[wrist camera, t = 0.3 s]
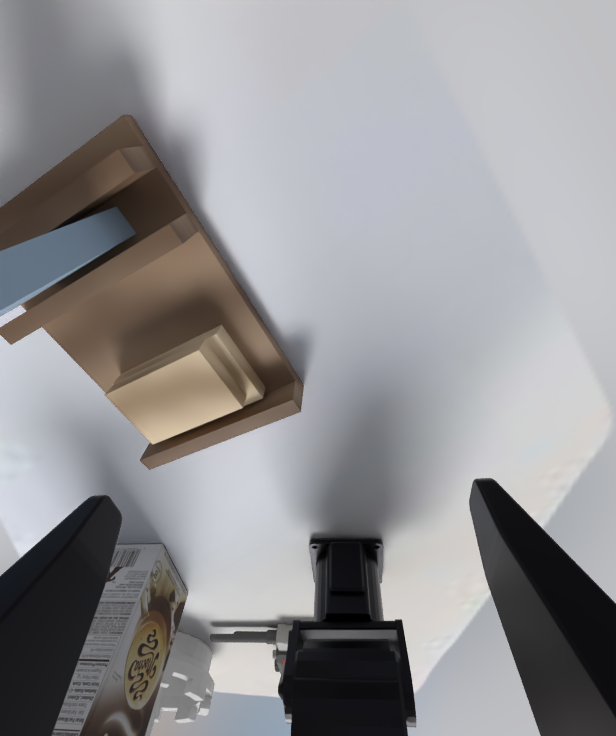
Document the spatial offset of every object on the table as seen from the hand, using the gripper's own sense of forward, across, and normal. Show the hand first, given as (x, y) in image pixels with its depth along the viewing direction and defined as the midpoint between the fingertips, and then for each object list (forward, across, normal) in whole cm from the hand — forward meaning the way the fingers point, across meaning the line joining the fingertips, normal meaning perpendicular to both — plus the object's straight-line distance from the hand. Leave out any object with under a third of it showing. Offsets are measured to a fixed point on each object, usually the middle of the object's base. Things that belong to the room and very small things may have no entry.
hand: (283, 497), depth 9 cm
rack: (+15, +10, +2) cm, 18 cm away
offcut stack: (+14, +8, +6) cm, 17 cm away
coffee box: (+13, +20, +29) cm, 38 cm away
